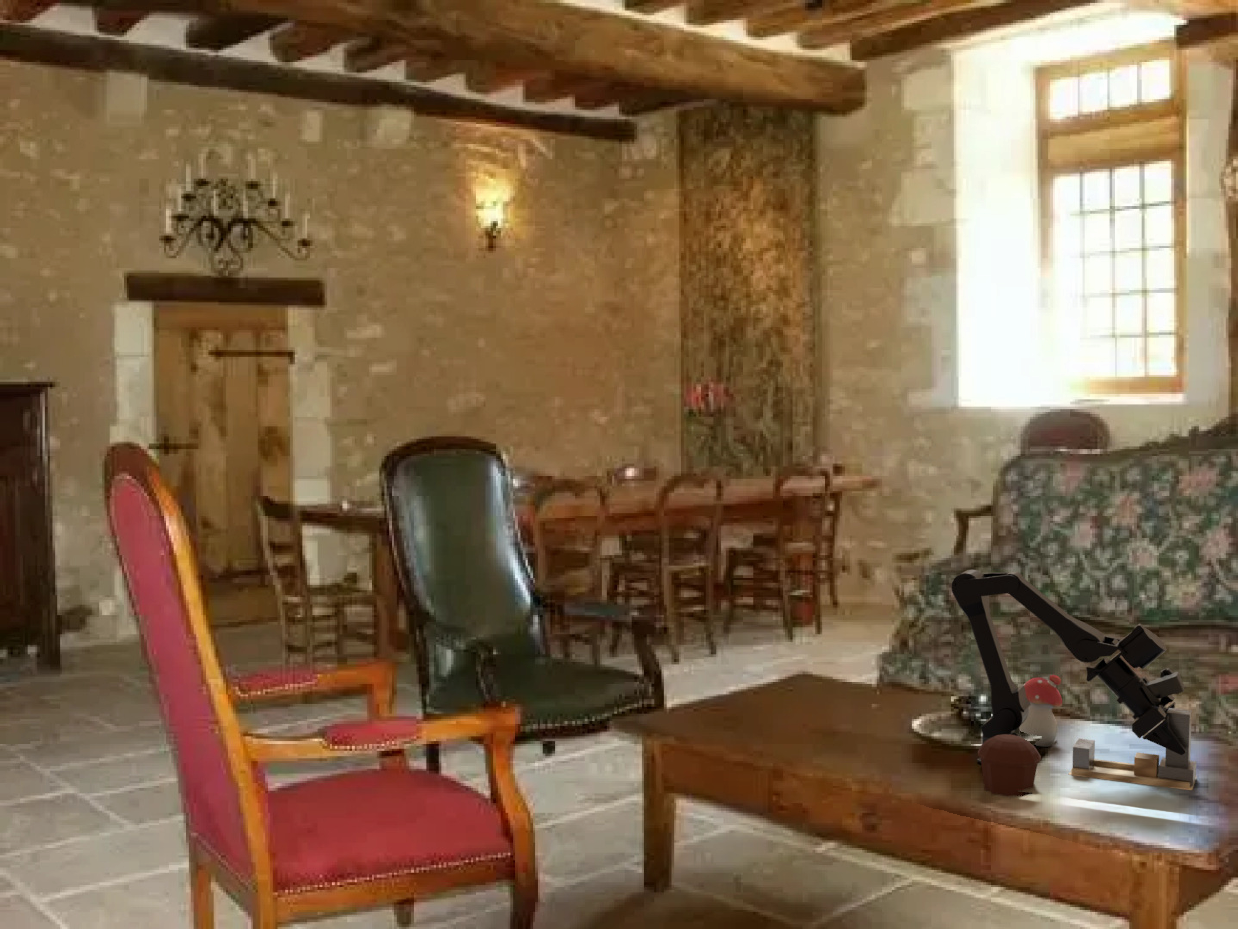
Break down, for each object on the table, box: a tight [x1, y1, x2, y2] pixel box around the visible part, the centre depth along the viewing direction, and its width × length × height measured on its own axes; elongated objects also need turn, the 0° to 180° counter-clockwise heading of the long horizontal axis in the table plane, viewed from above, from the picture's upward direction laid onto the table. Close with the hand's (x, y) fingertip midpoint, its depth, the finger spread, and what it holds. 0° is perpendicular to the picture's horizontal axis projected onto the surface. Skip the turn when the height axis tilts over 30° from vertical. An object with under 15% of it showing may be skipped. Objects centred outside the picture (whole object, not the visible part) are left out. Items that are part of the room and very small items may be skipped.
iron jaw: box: [1072, 738, 1096, 770], centre depth 271 cm, size 3×7×5 cm, turn 153°
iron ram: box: [1159, 707, 1197, 787], centre depth 263 cm, size 6×7×13 cm
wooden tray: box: [1068, 758, 1198, 791], centre depth 267 cm, size 22×10×2 cm, turn 63°
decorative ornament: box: [1018, 674, 1063, 747], centre depth 294 cm, size 9×6×15 cm
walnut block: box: [1133, 752, 1160, 778], centre depth 266 cm, size 4×4×4 cm
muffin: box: [977, 734, 1042, 797], centre depth 262 cm, size 12×11×10 cm
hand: (1186, 748), depth 263 cm, fingers open, 8 cm apart
